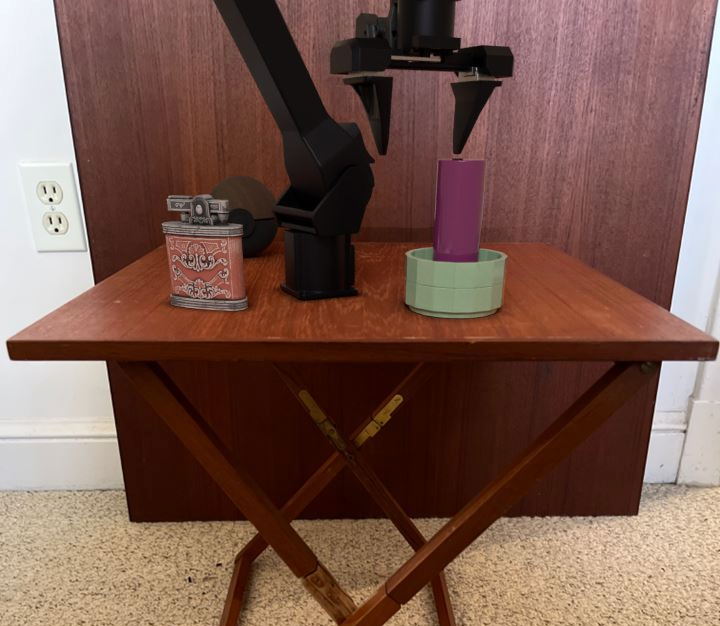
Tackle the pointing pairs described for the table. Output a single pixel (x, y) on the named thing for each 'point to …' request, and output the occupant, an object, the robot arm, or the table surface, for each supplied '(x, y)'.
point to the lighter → (205, 255)
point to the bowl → (454, 284)
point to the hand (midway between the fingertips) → (420, 154)
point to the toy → (249, 211)
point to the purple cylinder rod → (458, 209)
